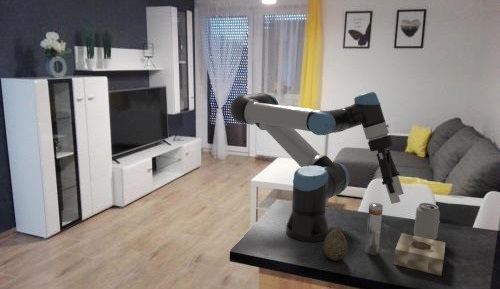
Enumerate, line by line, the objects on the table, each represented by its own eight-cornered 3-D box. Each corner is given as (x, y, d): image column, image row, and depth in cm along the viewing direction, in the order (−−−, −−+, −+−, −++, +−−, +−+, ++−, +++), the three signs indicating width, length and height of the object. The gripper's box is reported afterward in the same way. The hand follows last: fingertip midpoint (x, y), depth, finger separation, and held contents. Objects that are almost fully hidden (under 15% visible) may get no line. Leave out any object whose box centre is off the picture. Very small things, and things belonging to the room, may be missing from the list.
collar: (393, 264, 118) (395, 248, 117) (400, 247, 129) (401, 233, 128) (441, 275, 112) (443, 259, 111) (443, 257, 123) (445, 242, 122)
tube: (363, 253, 124) (368, 205, 121) (366, 248, 128) (370, 201, 125) (377, 256, 122) (381, 208, 119) (379, 251, 126) (384, 204, 123)
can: (439, 243, 132) (443, 210, 130) (415, 241, 134) (419, 208, 131) (433, 234, 140) (437, 202, 137) (411, 232, 141) (415, 200, 139)
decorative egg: (346, 266, 116) (349, 235, 114) (322, 263, 117) (324, 232, 115) (346, 255, 123) (348, 225, 121) (323, 252, 124) (325, 223, 122)
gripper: (385, 136, 118) (406, 203, 116) (393, 132, 140) (411, 189, 139) (360, 143, 121) (381, 209, 120) (372, 138, 143) (390, 194, 142)
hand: (398, 198), depth 129 cm, fingers open, 13 cm apart
